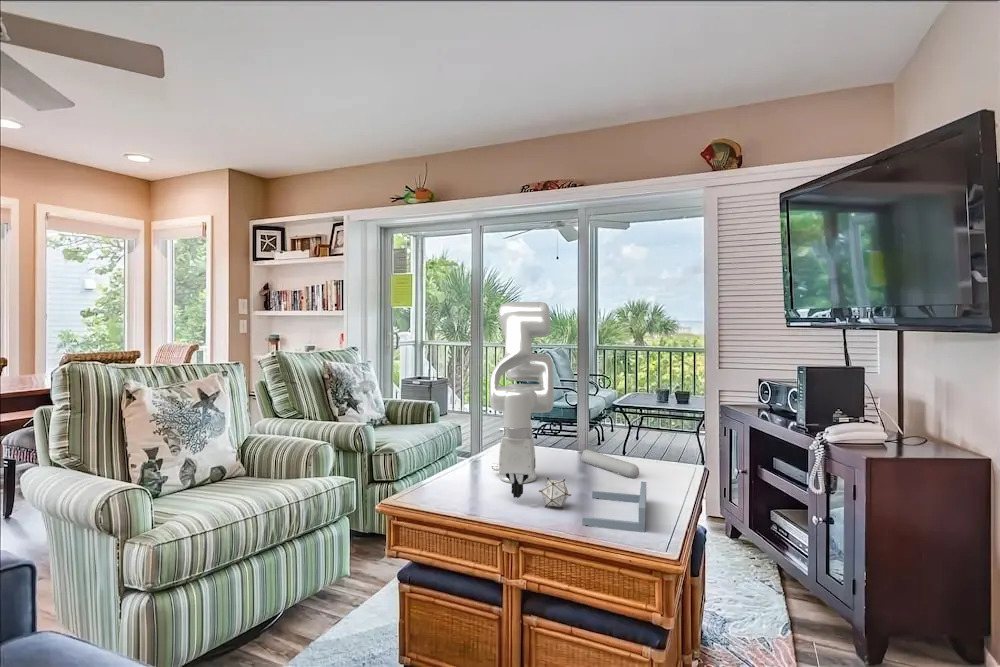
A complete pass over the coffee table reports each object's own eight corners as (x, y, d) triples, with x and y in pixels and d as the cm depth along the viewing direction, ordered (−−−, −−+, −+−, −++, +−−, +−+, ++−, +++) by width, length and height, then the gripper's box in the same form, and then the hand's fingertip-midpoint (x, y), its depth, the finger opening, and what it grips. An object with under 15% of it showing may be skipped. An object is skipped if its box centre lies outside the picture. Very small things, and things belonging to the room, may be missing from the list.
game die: (560, 518, 151) (580, 489, 152) (553, 517, 144) (575, 487, 145) (536, 498, 155) (556, 470, 156) (528, 496, 148) (549, 467, 149)
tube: (644, 466, 179) (593, 450, 201) (633, 463, 177) (583, 447, 198) (640, 481, 179) (589, 464, 200) (629, 479, 176) (579, 461, 197)
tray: (582, 525, 137) (582, 502, 136) (592, 497, 159) (592, 477, 158) (644, 532, 132) (644, 508, 132) (646, 502, 154) (646, 481, 154)
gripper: (488, 433, 151) (488, 498, 151) (540, 436, 147) (540, 502, 147) (496, 429, 158) (496, 490, 158) (545, 431, 154) (545, 495, 154)
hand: (517, 496), depth 153 cm, fingers closed
